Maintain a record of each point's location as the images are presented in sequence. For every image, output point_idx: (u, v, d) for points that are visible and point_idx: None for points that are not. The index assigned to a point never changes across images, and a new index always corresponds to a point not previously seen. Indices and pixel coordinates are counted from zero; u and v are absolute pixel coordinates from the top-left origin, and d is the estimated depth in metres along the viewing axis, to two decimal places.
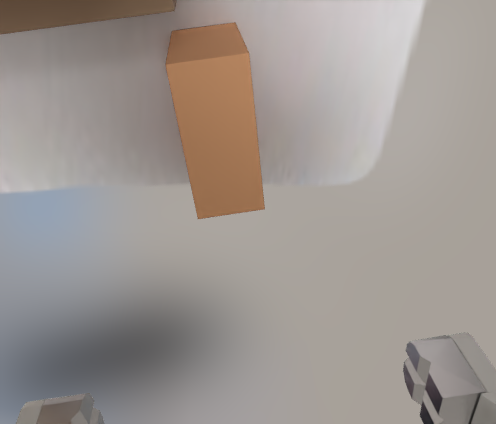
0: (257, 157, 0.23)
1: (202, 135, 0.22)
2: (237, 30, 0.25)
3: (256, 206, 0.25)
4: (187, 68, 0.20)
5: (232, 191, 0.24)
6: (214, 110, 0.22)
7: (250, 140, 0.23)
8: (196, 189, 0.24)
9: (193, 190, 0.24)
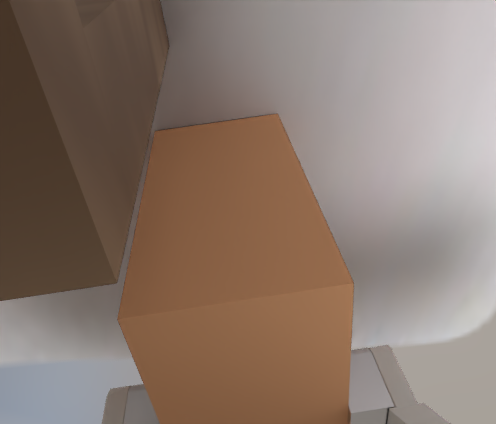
0: None
1: None
2: (290, 147, 0.12)
3: None
4: (179, 322, 0.07)
5: None
6: (250, 391, 0.09)
7: None
8: None
9: None
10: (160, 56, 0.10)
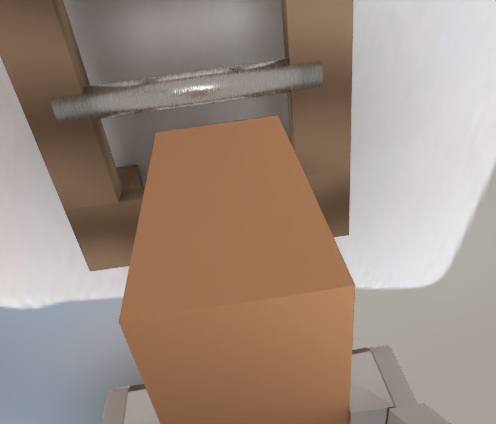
0: None
1: None
2: (290, 148, 0.12)
3: None
4: (180, 324, 0.07)
5: None
6: (250, 393, 0.09)
7: None
8: None
9: None
10: None
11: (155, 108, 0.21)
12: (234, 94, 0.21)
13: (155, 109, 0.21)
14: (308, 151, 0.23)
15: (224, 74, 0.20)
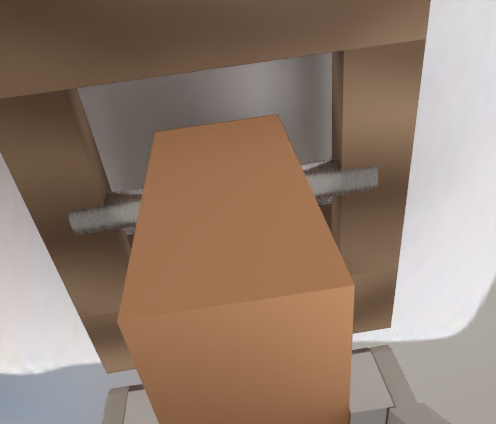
0: None
1: None
2: (290, 148, 0.12)
3: None
4: (179, 324, 0.07)
5: None
6: (250, 393, 0.09)
7: None
8: None
9: None
10: None
11: None
12: None
13: None
14: (354, 251, 0.21)
15: None
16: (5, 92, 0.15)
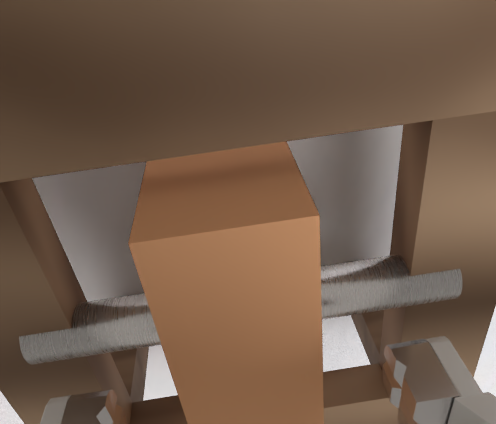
0: (319, 380, 0.12)
1: (211, 355, 0.11)
2: None
3: None
4: (178, 248, 0.09)
5: None
6: (237, 316, 0.10)
7: (308, 358, 0.11)
8: None
9: None
10: None
11: None
12: None
13: None
14: None
15: None
16: None
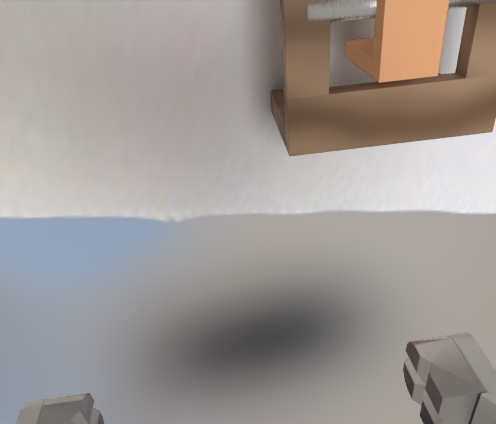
0: (444, 20, 0.27)
1: None
2: None
3: (432, 72, 0.28)
4: None
5: (415, 54, 0.28)
6: None
7: (442, 2, 0.26)
8: (385, 50, 0.27)
9: (382, 51, 0.27)
10: None
11: None
12: None
13: None
14: (479, 55, 0.30)
15: None
16: None
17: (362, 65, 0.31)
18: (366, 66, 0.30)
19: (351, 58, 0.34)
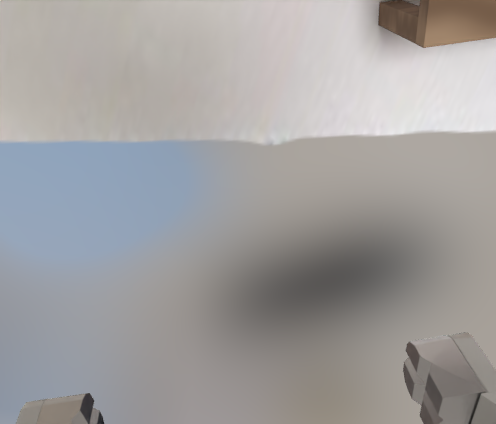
0: None
1: None
2: None
3: None
4: None
5: None
6: None
7: None
8: None
9: None
10: None
11: None
12: None
13: None
14: None
15: None
16: None
17: None
18: None
19: None
